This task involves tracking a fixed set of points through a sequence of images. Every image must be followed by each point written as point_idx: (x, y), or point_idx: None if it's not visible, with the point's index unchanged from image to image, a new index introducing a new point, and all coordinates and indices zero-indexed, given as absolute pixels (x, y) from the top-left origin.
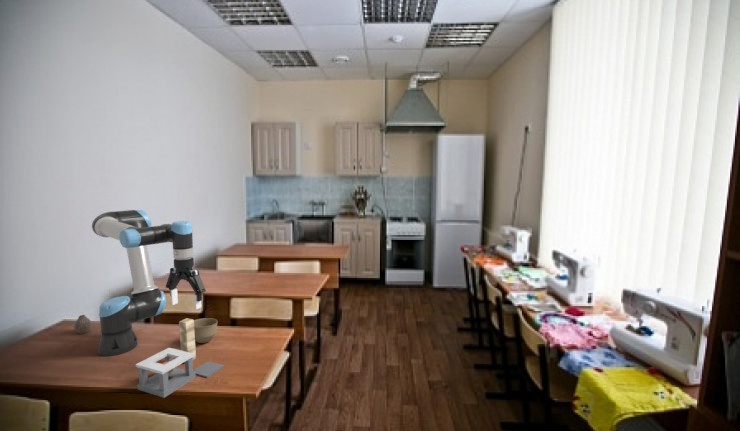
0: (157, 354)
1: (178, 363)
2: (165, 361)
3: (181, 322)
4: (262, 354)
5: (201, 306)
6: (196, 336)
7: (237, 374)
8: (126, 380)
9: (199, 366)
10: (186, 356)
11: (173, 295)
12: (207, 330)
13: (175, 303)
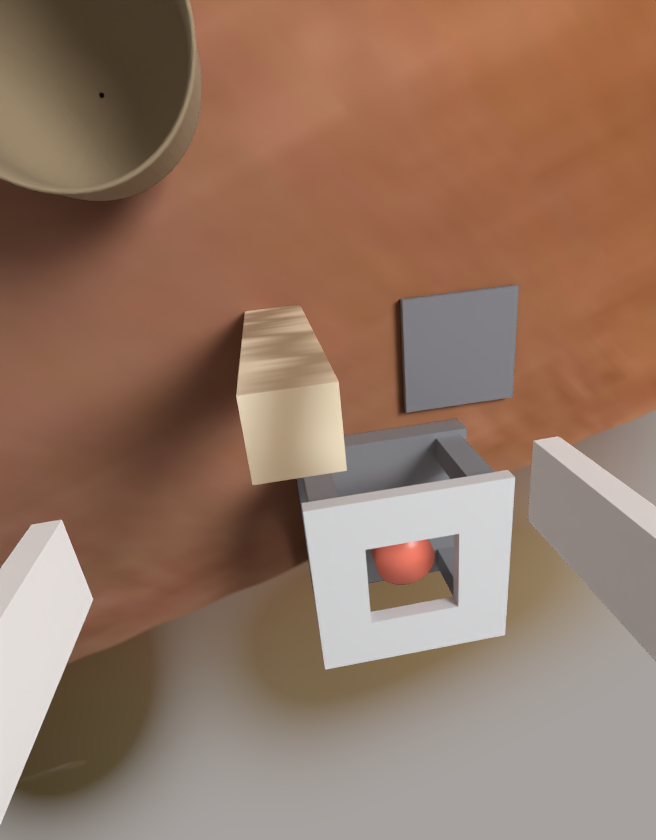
0: (325, 581)
1: (508, 563)
2: (380, 552)
3: (286, 478)
4: (647, 47)
5: (565, 442)
6: (141, 190)
7: (624, 303)
8: (198, 574)
9: (405, 359)
10: (497, 515)
11: (18, 721)
12: (189, 107)
13: (73, 564)
